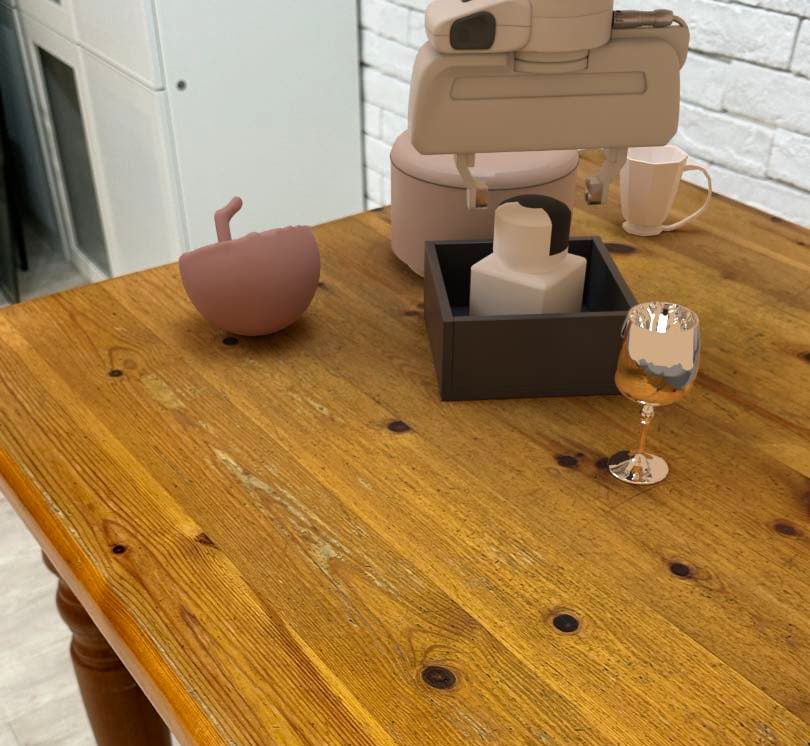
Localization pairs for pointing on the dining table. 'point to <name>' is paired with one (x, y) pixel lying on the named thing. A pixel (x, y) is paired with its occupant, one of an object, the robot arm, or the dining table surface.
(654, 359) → the wineglass
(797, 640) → the dining table surface
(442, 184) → the container
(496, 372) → the black bin
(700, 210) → the cup
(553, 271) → the medicine bottle
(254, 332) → the coconut drink
